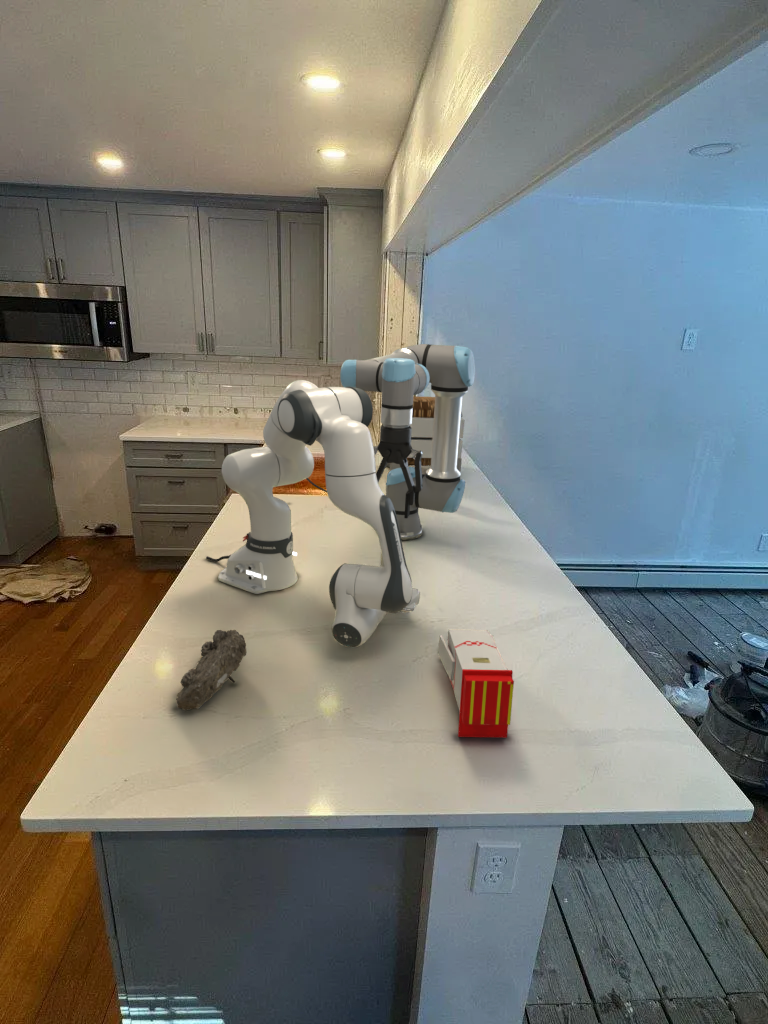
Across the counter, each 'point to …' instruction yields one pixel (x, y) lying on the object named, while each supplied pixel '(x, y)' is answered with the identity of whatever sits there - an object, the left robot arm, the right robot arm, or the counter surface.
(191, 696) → the fossil
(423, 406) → the grey slatted box
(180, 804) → the counter surface
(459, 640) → the toy
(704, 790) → the counter surface
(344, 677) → the counter surface
